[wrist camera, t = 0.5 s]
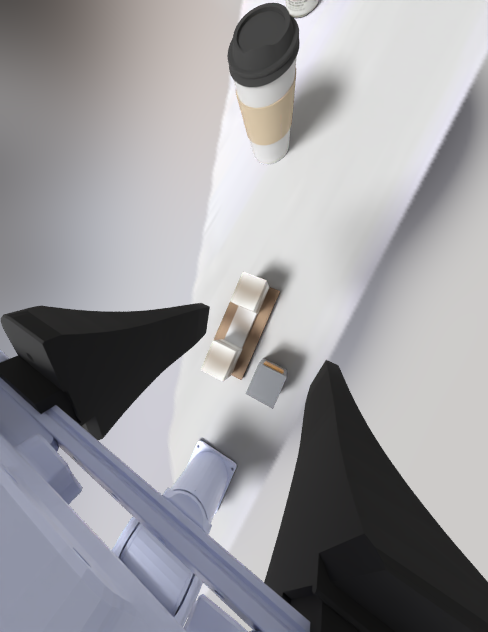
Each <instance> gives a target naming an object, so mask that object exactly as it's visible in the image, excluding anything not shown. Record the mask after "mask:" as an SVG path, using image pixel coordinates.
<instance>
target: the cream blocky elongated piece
mask: <svg viewBox="0 0 488 632" xmlns="http://www.w3.org/2000/svg"><path fill="white" fill-rule="evenodd" d="M279 293H280V291H278V290H276V289H273V288H271V287H269V285H268V283H267V280H264V279H262V278H259V277H256V276H254V275H251V274H248V273H246V272H242V275H241V277H240V279H239V282H238V284H237V286H236V289H235V291H234V293H233V295H232V298H231V300H230V303H229V305H228V308H227V310H226V312H225V315H224V317H223V319H222V322H221V324H220V326H219V329H218V331H217V333H216V335H215V338H214V340H213V342H212V344H211V346H210V349H209V351H208V353H207V356H206V358H205V360H204V363H203V365H202V367H201V369H200V370H202V371H204V372H205V373H207V374H209V375H211V376H213V377H215V378H216V379H218V380H220V381H222V382H223V381H224V380H226V379H227V378H228V377H230V376H231V375H232V376H234V377H236V378H238V379H240V380H241V379H242V378H243V376H244V374H245V371H246V369H247V367H248V364H249V362H250V360H251V357H252V355H253V353H254V351H255V348H256V346H257V344H258V341H259V339H260V337H261V335H262V332H263V330H264V328H265V325H266V323H267V321H268V318H269V316H270V314H271V312H272V309H273V307H274V305H275V302H276V300H277V298H278V296H279Z"/></svg>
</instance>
